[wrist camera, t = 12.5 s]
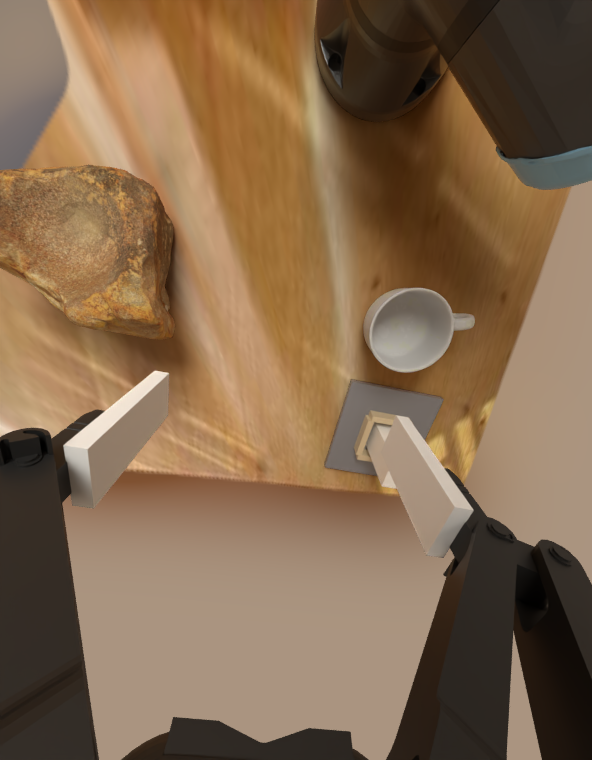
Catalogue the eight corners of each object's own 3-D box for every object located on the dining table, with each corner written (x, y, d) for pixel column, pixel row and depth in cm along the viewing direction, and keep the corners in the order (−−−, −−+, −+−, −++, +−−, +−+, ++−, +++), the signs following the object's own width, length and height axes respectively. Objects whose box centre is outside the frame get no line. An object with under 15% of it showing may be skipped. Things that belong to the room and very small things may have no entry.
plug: (374, 421, 49) (393, 459, 40) (396, 425, 49) (419, 464, 40) (366, 444, 51) (381, 486, 42) (387, 448, 51) (407, 490, 42)
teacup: (353, 352, 45) (364, 371, 38) (362, 281, 41) (377, 286, 33) (439, 355, 45) (467, 375, 38) (457, 284, 41) (493, 291, 33)
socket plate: (351, 379, 47) (354, 386, 44) (441, 396, 48) (449, 405, 45) (324, 463, 54) (326, 474, 51) (403, 476, 55) (409, 488, 52)
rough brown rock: (238, 247, 39) (209, 226, 25) (183, 344, 44) (132, 373, 29) (75, 131, 35) (-72, 25, 21) (31, 252, 39) (-116, 233, 25)
